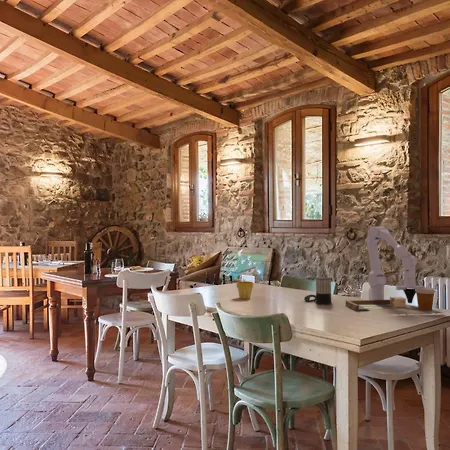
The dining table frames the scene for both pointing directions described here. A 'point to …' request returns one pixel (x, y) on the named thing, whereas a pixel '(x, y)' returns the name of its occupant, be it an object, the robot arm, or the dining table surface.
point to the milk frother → (321, 291)
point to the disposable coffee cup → (425, 298)
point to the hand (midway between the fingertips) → (409, 303)
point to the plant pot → (244, 289)
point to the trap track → (371, 305)
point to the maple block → (398, 301)
